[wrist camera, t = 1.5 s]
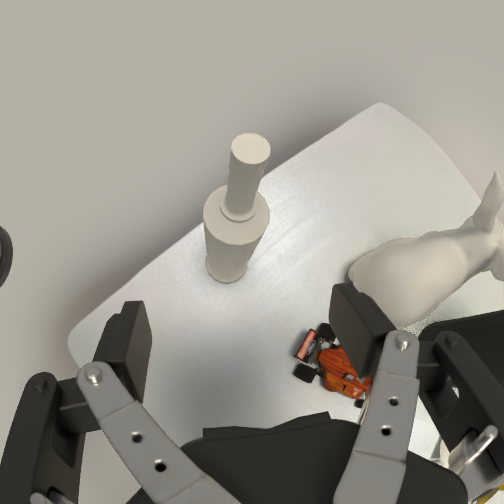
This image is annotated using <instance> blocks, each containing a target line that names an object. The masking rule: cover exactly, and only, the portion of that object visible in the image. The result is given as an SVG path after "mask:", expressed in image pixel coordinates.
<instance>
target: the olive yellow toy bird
mask: <svg viewBox="0 0 504 504" xmlns="http://www.w3.org/2000/svg"><path fill="white" fill-rule="evenodd" d="M498 490H501V491H503V490H504V483H503V484H502V485H500V486H499V487H498V488H496V489H495V490H493V491H492V492H491V493H489V494H488V495H486V496H485V497H482V498H478V499H477V503H476V504H484V503H485V502H486V501H488V500H489V499H490V498H491V497H492V496H493V495H494V494H495V493H496V492H497V491H498Z"/></svg>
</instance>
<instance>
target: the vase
mask: <svg viewBox="0 0 504 504" xmlns="http://www.w3.org/2000/svg"><path fill="white" fill-rule="evenodd" d="M441 331H453V332H456V333H458V334H459V335H461V336H462V337H463V338H464V339H465V341H466V342H467V343H468V344H469V345H470V347H471V348H472V349H473V350H474V351H475V353H476V354H477V355H478V356H479V358H480V359H481V360H482V361H483V363H484V364H485V365H486V366H487V368H488V369H489V370H490V372H491V373H492V374H493V376H494V377H495V378H496V379H497V381H498V382H499V383H500V385H501V386H502V387H503V389H504V310H500V311H495V312H490V313H485V314H480V315H475V316H470V317H464V318H458V319H453V320H446V321H440V322H435V323H432V324H430V325H428V326H427V327H426V328H425V329H424V330H423V331H422V333H421V334H420V336H419V338H418V340H419V341H435V339H436V337H437V335H438V333H440V332H441ZM448 383H449V384H450V386H451V387H456V388H457V386H456V385H455V383H454V382H453V380H452V379H451V378H450V379H449V381H448Z"/></svg>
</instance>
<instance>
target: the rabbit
mask: <svg viewBox="0 0 504 504" xmlns="http://www.w3.org/2000/svg"><path fill="white" fill-rule="evenodd" d="M502 202H503V186H502V182H501V178H500V175H499V173H498V172H497V171H496V170H495V172H494V176H493V179H492V180H491V182H490V184H489V186H488V187H487V189H486V191H485V194H484V198H483V200H482V202H481V204H480V206H479V207H478V209H477V210H476V212H475V213H474V215H473V216H471V217H469V218H468V219H467V220H466V221H465V222H464V224H463V225H462V226H461V227H460V228H458V229H454V230H446V231H440V232H438V231H431V232H428V233H426V234H424V235H423V236H421V237H420V238H419V239H413V238H400V239H395V240H392V241H390V242H387V243H385V244H383V245H381V246H379V247H378V248H376V249H374V250H372V251H370V252H368V253H366V254H364V255H363V256H361V257H360V258H359V259H358V260H357V261H356V262H354V263H353V265H352V266H351V267H350V270H349V273H348V276H349V278H350V280H351V281H352V282H353V285H354V286H355V288H356V289H357V290H358V291H359V292H363V293H365V294H366V295H368V296H370V297H371V298H372V299H373V300H374V301H375V302H376V304H377V306H379V307H380V308H381V310H382V312H384V313H385V315H386V316H387V317H388V318H389V319H390V321H391V322H392V323H393V324H394V326H395V327H396V328H397V330H401V329H403V328H405V327H407V326H409V325H410V324H413V323H415V322H418V321H420V320H422V319H424V318H425V317H427V316H428V315H430V314H431V313H432V312H433V311H434V310H435V309H436V308H437V306H438V305H439V304H440V303H441V302H442V301H444V300H445V299H446V298H447V297H448V296H450V295H451V294H452V293H453V292H455V291H456V290H457V289H459V288H460V287H461V286H462V285H463V284H464V283H465V282H466V281H467V280H468V279H470V278H471V277H473V276H474V275H476V274H478V273H480V272H485V271H489V270H491V272H492V274H493V276H494V277H495V278H496V279H497V280H500V281H503V282H504V226H503V225H502V224H501V222H500V221H499V219H498V218H497V217H496V215H497V212H498V210H499V208H500V207H501V205H502Z"/></svg>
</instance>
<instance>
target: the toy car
mask: <svg viewBox="0 0 504 504" xmlns="http://www.w3.org/2000/svg"><path fill="white" fill-rule="evenodd" d="M319 338H320V339H319ZM335 338H336V336H335V334H334V332H333V330H332V328H331V326H330V324H327V323H322V324H321V326H320V328H319V330H318V332H316V331H314V330H313V329H309V332H308V334H307V336H306V337H305V339H304V341H303V343H302V345H301V346H300V348H299V350H298V352H297V353H296V355H295V356H294V357H296V358H298V359H299V360H301V361H303V362H306V364H307V363H309V362H310V364H312V363H314V364H316V363H317V361H318V360H319V362H320V364H321V365H322V367H321V369H319V368H315V369H313V368H311V367H309V366H307V365H304V364H301V363H300V364H299V366H298V368H297V369H296V371H295V373H294V375H295V376H296V377H297V378H299V379H301V380H303V381H305V382H307V383H312V381H313V379H314V377H315V375H316V374H317V375H319V376H320V377H322V378H324V379H325V380H324V387H325V389H327V390H328V391H331V392H336V391H337V392H339V393H341V394H343V395H345V396H347V397H349V398H352V399H358V398H359V397H360V396H361V394H362V393H363V392H364V391H365V396H366V394H367V391H368V388H369V385H370V382H371V379H370V377H366V378H362V379H359V378H358V376H357V374H356V372H355V370H354V368H353V367H352V365H351V363H350V361H349V359H348V357H347V356H346V354H345V352H344V350H343V348H342V346H340V347H339V346H337V345H335V344H333V342H334V340H335ZM321 339H322V340H323V341H322V343H323V342H324V341H325V342H329V343H330V344H332V348H331V349H324V350H322V351H321V344H322V343H320V341H321ZM318 340H319V341H318ZM317 342H318V343H317ZM316 344H317V345H316ZM315 345H316V347H315ZM314 347H315V348H314ZM309 357H310V358H309ZM308 358H309V359H308ZM307 360H308V361H307ZM319 370H320V371H319ZM317 371H319V372H317ZM363 403H364V400H358V401H357V405H356V407H358V408H362V406H363Z"/></svg>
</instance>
